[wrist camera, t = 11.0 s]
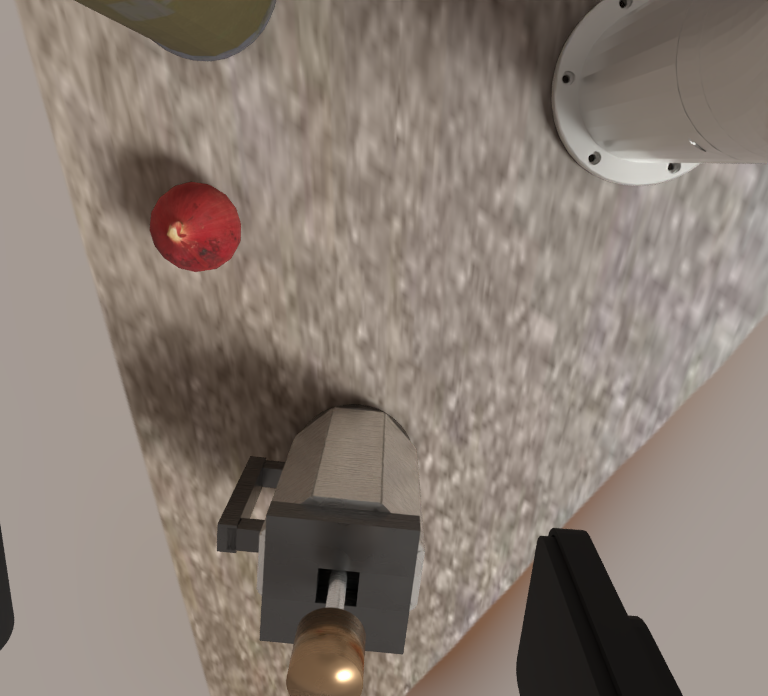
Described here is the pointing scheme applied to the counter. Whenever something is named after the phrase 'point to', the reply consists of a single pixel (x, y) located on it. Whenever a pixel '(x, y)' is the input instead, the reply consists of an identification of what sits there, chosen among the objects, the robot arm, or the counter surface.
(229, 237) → the onion
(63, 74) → the counter surface
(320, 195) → the counter surface
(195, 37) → the canister
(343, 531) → the french press
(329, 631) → the plunger
